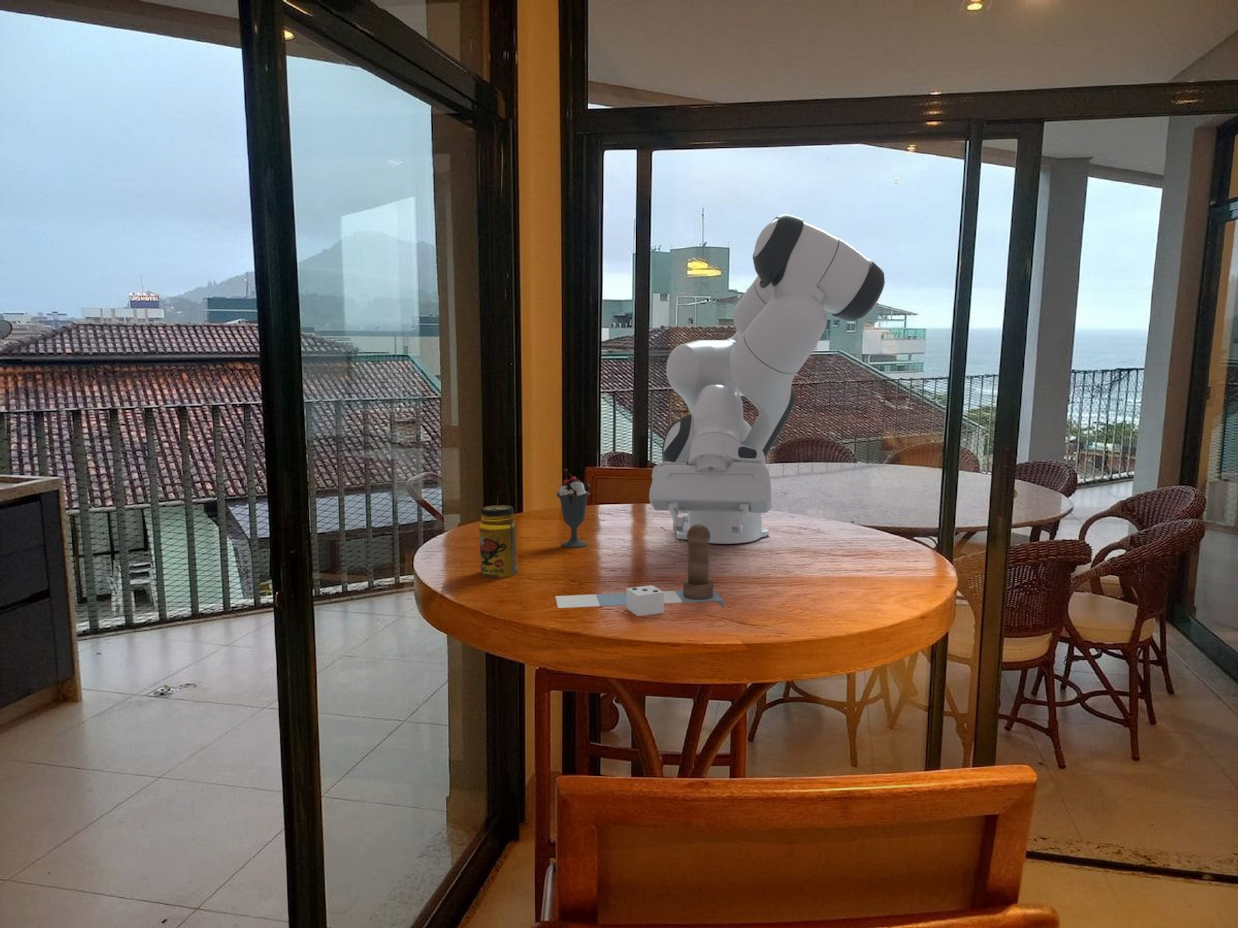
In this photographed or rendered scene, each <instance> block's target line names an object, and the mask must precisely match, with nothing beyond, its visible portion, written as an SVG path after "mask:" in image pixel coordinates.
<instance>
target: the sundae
mask: <svg viewBox="0 0 1238 928" xmlns="http://www.w3.org/2000/svg"><path fill="white" fill-rule="evenodd" d="M563 471H564V472H565V480H563V485H562V486H561V487H560V488H559V491H557V492H556V493H555V494H556V496H557V498H559V500H560V505H561V506H560V507H561V513H562V514H561V515H562V517H563V521H564V523H565V524H566V525H567V526H568V527H570V538H569V539H568V541H565V542H562V543H561V546H562V547H564V548H568V549H569V548H571V549H576V548H578V549H579V548H584V547H586V546H588V543H587V542H585V541H582V540H580V539H579V536H578V528H579V527H580V526H581V525H582V524H583V522H584V521H585V518H586V512H587V511H586V510H587V505H588V503H587V502H588V497H589V496H590V495H591V494H592V493H591V492H590V491H589V490H590V484H589V482H588V481H585V483H583V482H582V481H581V480H580V479H577V477H576V476H572V474H571V473H569V471H568V469H567V468H565V469H564V468H563ZM567 473H568V474H567ZM568 475H569V476H570V478H569V479H568Z"/></svg>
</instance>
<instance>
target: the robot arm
mask: <svg viewBox="0 0 1238 928" xmlns="http://www.w3.org/2000/svg"><path fill="white" fill-rule="evenodd" d="M752 261H753V265H754V270H755V272H756V274H757V276H756V278H755V280H753V282H752V283H751V285H750V286H749V287H748V288H747V290H746V291H745V293H744V294H743V295H742V297H741V298H740V300H739V301H738V302H737V304H736V305H735V306H734V309H733V313H732V318H733V319H732V320H733V325H734V327H735V330H736V331H735V333H734V334H733V335H732V336H731V337H729V338H727V339H719V340H717V339H697V340H693V341H689V342H685V343H683V344H679V345H677V346H676V347H675V348H673V349H672V351H671V352H670V354H669V356H668V357H667V361H666V366H665V368H666V369H665V371H666V372H665V373H666V378H667V380H668V383H669V385H670V387H671V388H672V390H673V391H674V392H675V393H677V394H678V395H679V396H680V397H681V399H682V400H683V401H684V402H685V404H686V406H687V408H688V410H689V414H686V415H684V416H682V417H680V418H679V419H676V421H674V422H673V423H671V425H670V426H669V427H668V429H667V431H666V433H665V434H664V435H665V436H664V438H663V442H662V446H661V448H662V449H661V454H662V460H663V461H662V462H661V463H658V464H656V465H655V466H653V468H652V471H651V472H652V473H651V479H652V480H651V481H652V482H651V485H650V488H649V495H648V498H649V499H648V500H649V503H650V505H651V507H652V508H653V509H654V510H655V511H665V512H666V511H667V512H669V515H670V517H671V519H672V521H673V522H672V529H673V531H674V532H675V533H676V535H675V537H676V538H677V539H678V540H686V541H688V540H687V532H688V530H689V529H690V527H692V526H693V525H696V524H700V525H703V526H705V527H706V528H707V529H708V530H709V532H710V540H709V544H719V545H721V544H723V545H724V544H727V545H728V544H730V545H732V544H743V543H744V544H745V543H750V542H751V543H752V542H755V541H757V540H759V539H761V538H765V537H768V536H767V535H769V536H770V530H769V529H767V528H764V527H763V516H762V515H763V514H767V513H769V512H770V510H772V509H773V494H772V493H773V492H772V483H771V476H770V472H769V469H768V467H767V461H766V457H767V456H768V455H769V452H770V451H771V449H772V447H773V445H774V444H775V442H776V440H777V438H778V437H779V435H780V433H781V431H782V430H783V428H784V426H785V424H786V423H787V420H788V418H789V417H790V415H791V412H792V410H793V407H794V404H795V402H796V401H795V399H796V390H795V387H793V385H792V384H793V381H794V378H795V377H796V374H797V373H798V372H799V371H800V369H801V368H802V367H803V366H804V365H805V363H806V361H807V360H808V359H809V357H810V356H811V355H812V353H813V352H814V350H815V348H816V347H817V345H818V343H819V342H820V339H821V338H822V336H823V334H824V333H825V332H824V331H825V330H826V327H827V325H828V315H827V312H829V313H831V315H832V316H833V317H834V318H835V317H836V318H838V319H841V320H844V321H848V322H853V321H856V320H859V319H862V318H863V317H865V316H866V315H867V314H868V313H869V312H870V311H871V310H872V309H873V308H874V306H876V304H877V302H878V301H879V299H880V297H881V295H882V293H883V291H884V288H885V283H886V281H885V272H884V270H882V268H881V267H880V266H879V265H878V264H877V263H876V262H875V261H874V260H872V259H871V258H867V257H865V256H864V255H863V254H862V253H860V252H859V251H858V250H856V249H855V248H854V247H853V246H851V245H850V244H848V243H847V242H846V241H844V240H842V239H841V238H839V237H836V236H833V235H832V234H829V233H828V232H826V231H825V230H823V229H820V228H818V227H816V226H814V225H812V224H809V223H806V222H804V219H803V218H800V217H797V216H794V215H792V214H787V213H784V214H781V215H778V216H776V217H775V218H774V219H773V220H772V221H771V222H769V223H768V224H767V225H766V226H765V227H764V228H763V229H762V230H761V232H760V233H759V235H758V237H757V239H756V242H755V246H754V250H753V253H752ZM742 396H743V397H745V398H746V399H747V400H748V401H749V402H750V403H751V404H752V405H753V406H754V407H755V408H756V409H757V411H758V412H759V414H758V416H757V417H756V419H755V421H754V422H753V424H752V426H751V425H750V424H749V422H748V421H746V419H744V405H743V404H744V403H743V400H742V398H741V397H742ZM679 514H681V515H682V514H685V515H683V516H682V517H680V516H678V515H679Z"/></svg>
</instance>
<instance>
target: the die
mask: <svg viewBox="0 0 1238 928" xmlns="http://www.w3.org/2000/svg"><path fill="white" fill-rule="evenodd" d="M625 590H626V592H625V593H626V605H625V606H626V609H627V610H628V611H630V612H631V614H632V613H633V615H635V616H637V617H641V616H650V615H657V614H664V613H665V603H664V592H663V591H662V590H661V589H660V588H658V587H656V586H654V585H653V584H652V585H644V586H635V587H634V586H633V587H627V588H626V589H625Z"/></svg>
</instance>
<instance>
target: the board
mask: <svg viewBox="0 0 1238 928" xmlns="http://www.w3.org/2000/svg"><path fill="white" fill-rule="evenodd" d="M663 592H664V604H675V603H676V604H677V603H678V604H679V603H701V602H702V603H703V602H717V603H718V604H719V606H721V608H723V607H724V600H723V598H722V597H721V596H720V595H719V594H718V592H716V591H715V590H714V588H713V597H712V598H709V599H703V600H695V599H689V598H686V597H684V596H683V590H682V589H681V590H666V591H663ZM555 601H556V605H557V609H569V608H570V609H572V608H573V609H574V608H592V607H593V608H594V607H595V608H596V607H613V606H614V607H615V606H617V607H618V606H626V592H621V593H619V592H618V593H598V594H597V593H595V594H592V593H591V594H576V595H575V594H573V595H572V594H571V595H555Z"/></svg>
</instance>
